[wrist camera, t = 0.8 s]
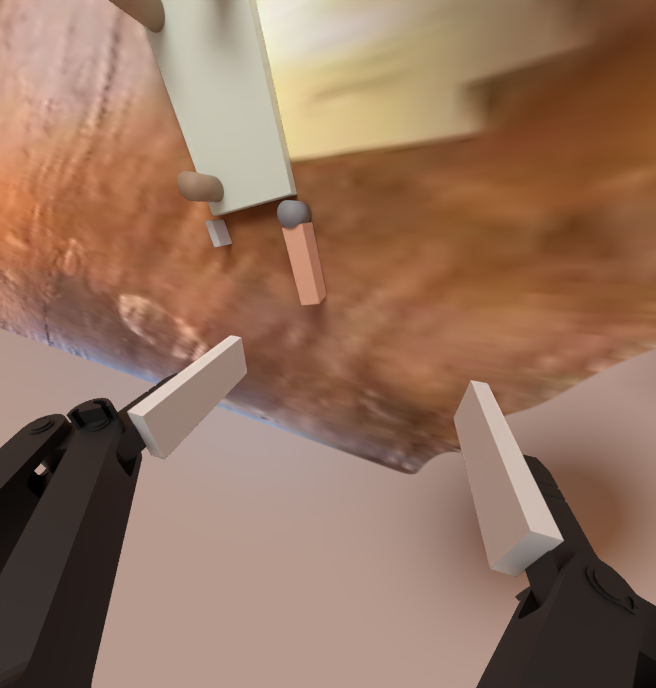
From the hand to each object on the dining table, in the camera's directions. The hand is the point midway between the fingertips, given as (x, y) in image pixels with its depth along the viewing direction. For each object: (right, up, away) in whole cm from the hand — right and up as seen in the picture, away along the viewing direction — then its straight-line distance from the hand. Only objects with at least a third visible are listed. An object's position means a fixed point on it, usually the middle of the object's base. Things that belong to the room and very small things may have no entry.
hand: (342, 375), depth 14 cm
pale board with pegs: (-11, +25, +12) cm, 30 cm away
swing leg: (-3, +13, +16) cm, 21 cm away
